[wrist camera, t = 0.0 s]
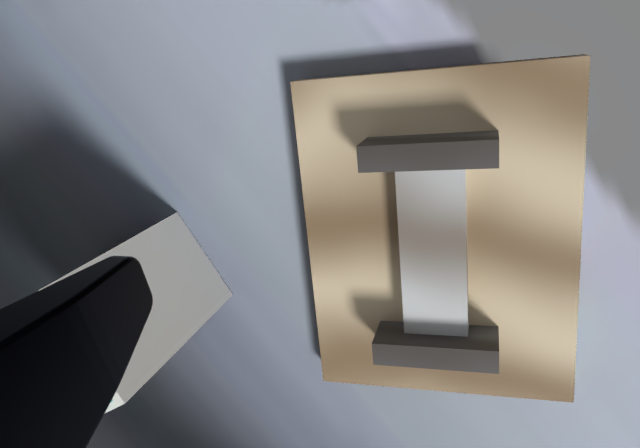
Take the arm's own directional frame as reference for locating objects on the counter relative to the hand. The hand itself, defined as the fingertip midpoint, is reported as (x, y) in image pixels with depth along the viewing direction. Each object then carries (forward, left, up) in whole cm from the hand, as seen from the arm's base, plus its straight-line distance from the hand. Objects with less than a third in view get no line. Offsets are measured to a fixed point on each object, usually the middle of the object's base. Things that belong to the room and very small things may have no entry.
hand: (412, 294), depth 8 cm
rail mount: (-4, -2, -15) cm, 16 cm away
